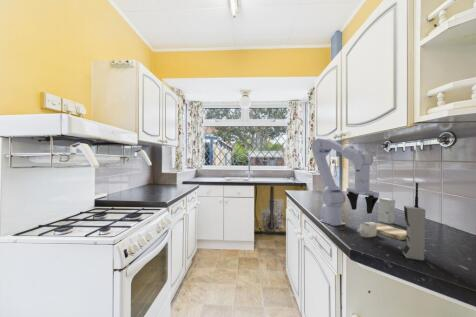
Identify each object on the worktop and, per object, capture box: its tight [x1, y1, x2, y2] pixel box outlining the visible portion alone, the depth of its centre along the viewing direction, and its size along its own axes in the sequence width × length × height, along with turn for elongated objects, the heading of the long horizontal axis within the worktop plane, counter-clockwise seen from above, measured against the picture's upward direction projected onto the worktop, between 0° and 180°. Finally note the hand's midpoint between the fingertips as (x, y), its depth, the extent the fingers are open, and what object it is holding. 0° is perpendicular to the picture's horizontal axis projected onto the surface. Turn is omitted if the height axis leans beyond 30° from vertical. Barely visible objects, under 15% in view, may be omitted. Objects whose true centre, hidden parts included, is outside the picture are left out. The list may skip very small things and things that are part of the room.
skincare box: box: [377, 197, 396, 225], centre depth 121 cm, size 6×4×12 cm
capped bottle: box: [356, 221, 378, 238], centre depth 100 cm, size 4×10×5 cm, turn 114°
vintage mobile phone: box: [402, 182, 426, 261], centre depth 78 cm, size 4×5×25 cm
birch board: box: [377, 222, 407, 241], centre depth 104 cm, size 16×10×2 cm, turn 24°
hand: (361, 211), depth 103 cm, fingers open, 7 cm apart
